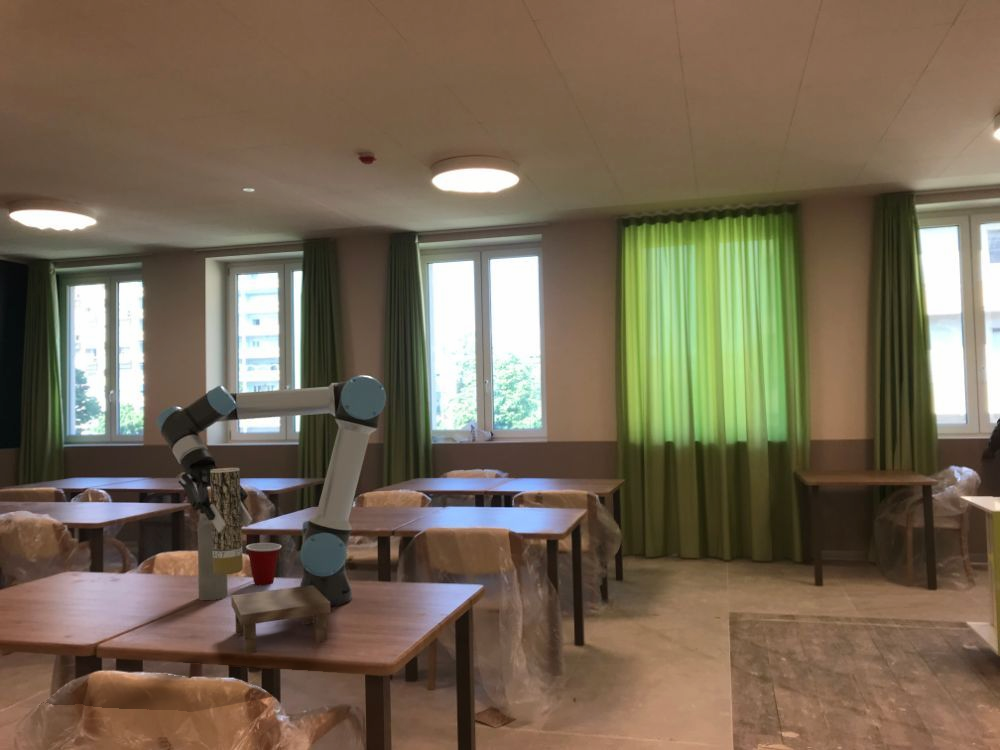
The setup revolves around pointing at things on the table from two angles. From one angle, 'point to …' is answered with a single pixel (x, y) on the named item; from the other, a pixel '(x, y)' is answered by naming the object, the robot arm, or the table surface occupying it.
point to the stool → (279, 611)
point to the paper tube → (227, 521)
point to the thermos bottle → (208, 564)
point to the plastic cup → (263, 561)
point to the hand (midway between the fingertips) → (235, 525)
